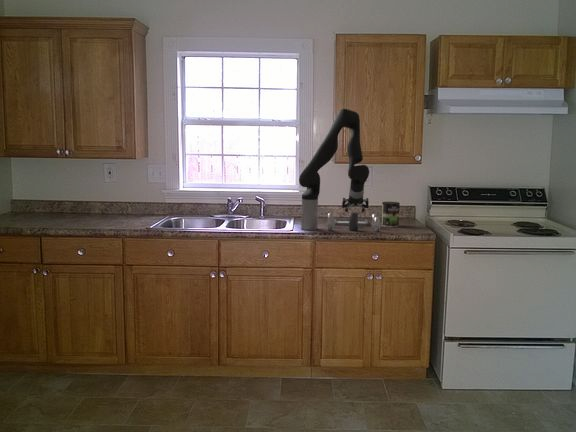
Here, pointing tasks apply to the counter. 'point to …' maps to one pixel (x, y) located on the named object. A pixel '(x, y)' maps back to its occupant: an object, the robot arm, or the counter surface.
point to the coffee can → (390, 214)
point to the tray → (346, 222)
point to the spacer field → (374, 222)
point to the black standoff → (353, 221)
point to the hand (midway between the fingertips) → (354, 211)
